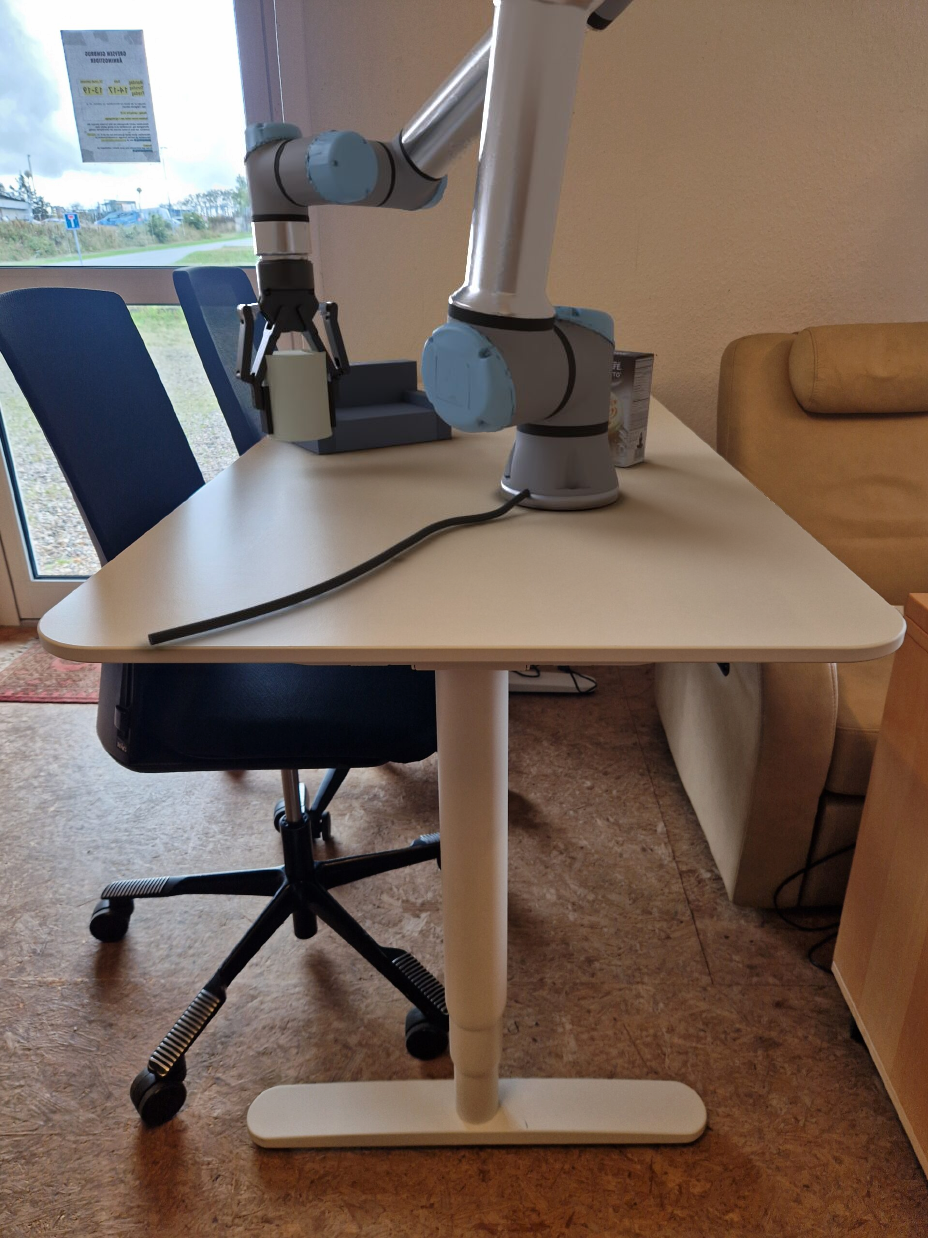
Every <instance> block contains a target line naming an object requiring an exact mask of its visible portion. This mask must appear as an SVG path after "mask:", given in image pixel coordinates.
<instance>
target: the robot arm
mask: <svg viewBox="0 0 928 1238" xmlns="http://www.w3.org/2000/svg"><path fill="white" fill-rule="evenodd" d="M492 1H493V4H494V15H493V23H492V24H491V26H490V27H489V28H488V29H487V30H486V32H485V33H484V34H483V35H482V36H481V37H480V38H479V39H478V41H477V42H476V43H475V44H474V45H473V47H471V49H470V50H469V51H467V54H466V55H465V56H464V57H463V58H462V60H460V62H459V63H458V64H457V65H456V66H455V67H454V69H453V70H451V72H450V73H449V74H448V75H447V77H445V79H444V80H443V81H442V82H441V83H440V85H439V86H438V87H437V88H436V89H435V90H434V92H433V93H432V94H431V95H430V96H429V97H428V98H427V100H426V101H425V102H424V103H423V104H422V106H420V108H419V109H418V110H417V111H416V113H414V115H412V117H411V118H410V119H409V120H408V122H407V123H406V124H405V125H404V126H403V127H402V129H401V130H400V131H399V132H397V134H396V135H395V136H394V137H393V138H392V139H391V140H390V141H388V142H387V141H379V140H374V139H373V140H371V139H366V138H365V137H364V136H363V135H362V134H361V133H359V132H357V131H354V130H351V129H349V130H348V129H346V130H336V129H331V130H327V131H325V132H322V133H319V134H315V135H314V134H313V135H309V136H303V132H302V130H301V128H300V127H299V126H298V125H296V124H293V123H289V122H277V121H267V122H256V123H252V124H250V125H248V126H246V128H245V129H244V131H243V147H244V157H243V163H244V167H245V176H246V183H247V193H248V201H249V211H250V217H251V227H252V229H251V230H252V236H253V246H254V247H253V248H254V255H256V256H257V257H259V260H258V261H256V263H255V270H256V278H257V279H256V280H257V289H258V299H257V302H256V303H251V304H238V305H237V307H236V311H237V316H238V320H239V332H238V342H237V352H236V361H235V362H236V364H235V372H234V373H235V375H234V377H235V380H236V381H239V382H242V383H246V384H248V385H249V387H250V393H251V394H250V395H251V396H250V397H251V404H252V407H253V409H254V410H257V411H259V417H260V427H261V432H262V433H264V434H267V435H268V434H274V433H273V424H272V414H271V404H270V395H269V386H266V385H263V381H264V378H265V375H266V372H267V361H266V357H265V356H266V355H273V352H274V351H275V348H276V346H277V343H278V341H279V339H280V338H281V336H282V334H287V333H291V332H293V333H295V332H296V333H300V335H302V336H303V337H304V339H305V341H306V342H307V345H308V346H309V348H310V350H312V351H316V352H324V351H325V352H326V373H327V388H328V401H329V414H330V424H331V427H336V413H335V402H339V400H340V392H339V380H340V379H341V378H342V376H344V375H346V374H349V373H350V371H351V368H350V365H349V363H350V361H349V357H348V354H347V353H348V352H347V350H346V346H345V343H344V339H343V335H342V332H341V328H340V324H339V320H338V319H339V318H338V317H339V305H338V303H337V302H335V301H319V299H318V298H317V296H316V293H315V291H316V290H315V289H316V287H315V286H316V285H315V272H314V263H313V262H312V260H309V257H310V256H312V254H313V247H312V236H311V235H312V234H311V225H310V223H311V221H310V214H309V207H315V206H330V205H334V206H348V207H366V208H383V209H392V210H393V209H395V210H403V211H408V212H413V211H418V210H430V209H433V208H435V207H436V206H437V205H439V204H440V202H441V201H442V200H443V198H444V193H445V190H446V189H447V186H448V178H449V177H448V173H449V172H450V171H451V170H452V169H453V168H454V167H455V166H456V165H457V164H458V163H459V162H460V161H461V160H462V159H463V158H464V157H465V156H466V155H467V154H468V153H469V152H470V151H471V150H472V149H473V148H474V147H475V146H476V145H477V144H478V143H479V142H480V144H479V151H478V152H479V153H478V159H477V160H478V161H477V171H476V179H475V189H474V197H473V207H472V217H471V225H470V235H469V244H468V252H467V253H468V254H467V263H466V270H465V271H466V272H465V280H464V283H463V284H462V285H461V286H460V287H458V288H457V290H455V291H454V292H452V294H451V295H450V296H449V298H448V306H447V316H446V323H444V324H443V325H440V326H439V327H437V328H436V329H435V330H433V332H432V333H431V336H430V337H428V338H427V339H426V341H425V343H424V345H423V349H422V353H421V359H420V374H421V375H420V376H421V381H422V386H423V389H424V391H425V392H426V395H427V397H428V399H429V401H430V402H431V403H433V405H434V408H435V411H436V412H437V414H438V415H439V416H440V417H441V418H442V419H443V420H444V421H445V422H446V423H447V424H449V425H450V426H452V428H453V429H455V430H457V431H460V432H461V433H462V432H463V433H466V434H478V433H498V432H501V431H503V430H504V429H508V428H512V427H516V428H515V429H516V430H515V438H514V441H513V444H512V447H511V449H510V453H509V456H508V458H507V461H506V464H505V468H504V469H503V470H504V471H503V474H502V477H501V480H500V495H501V497H502V498H503V499H504V500H506V502H505V503H504V504H503V505H502V506H500V507H498V508H496V509H494V510H491V511H486V512H483V513H476V514H469V515H468V514H467V515H460V516H454V517H450V518H445V519H442V520H439V521H436V522H434V523H431V524H429V525H427V526H425V527H422V528H421V529H420V530H418V531H416V532H415V533H413V534H412V535H410V536H408V537H406V538H405V539H402V540H400V541H399V542H397V543H395V544H394V545H392V546H391V547H389V548H387V549H386V550H384V551H382V552H381V553H379V554H377V555H375V556H374V557H372V558H370V559H368V560H366V561H365V562H362V563H360V564H358V565H356V566H354V567H352V568H350V569H349V570H347V571H344V572H342V573H340V574H338V575H336V576H334V577H331V578H329V579H327V580H324V581H322V582H320V583H317V584H315V585H312V586H310V587H307V588H304V589H301V590H299V591H297V592H294V593H291V594H288V595H285V596H282V597H279V598H276V599H273V600H269V601H266V602H264V603H260V604H257V605H254V606H250V607H247V608H243V609H240V610H236V611H233V612H229V613H225V614H223V615H218V616H215V617H212V618H207V619H204V620H200V621H195V622H191V623H187V624H183V625H181V626H176V627H171V628H168V629H164V630H159V631H155V632H151V633H148V634H147V639H148V642H149V645H150V646H155V645H159V644H162V643H166V642H171V641H174V640H178V639H182V638H186V637H190V636H194V635H197V634H201V633H207V632H210V631H212V630H217V629H221V628H223V627H227V626H231V625H234V624H237V623H241V622H244V621H247V620H251V619H255V618H258V617H261V616H264V615H267V614H270V613H273V612H276V611H280V610H282V609H285V608H288V607H291V606H294V605H297V604H301V603H302V602H304V601H308V600H310V599H312V598H315V597H318V596H320V595H322V594H324V593H328V592H329V591H331V590H334V589H336V588H339V587H340V586H343V585H344V584H347V583H348V582H349V583H350V582H351V581H353V580H355V579H356V578H358V577H361V576H363V575H365V574H367V573H368V572H370V571H372V570H373V569H376V568H377V567H379V566H380V565H382V564H384V563H386V562H387V561H389V560H390V559H392V558H394V557H395V556H397V555H399V554H400V553H402V552H403V551H406V550H407V549H409V548H410V547H413V546H414V545H416V544H417V543H419V542H420V541H422V540H423V539H425V538H427V537H428V536H430V535H432V534H433V533H436V532H438V531H440V530H443V529H446V528H450V527H453V526H460V525H467V524H475V523H481V522H486V521H491V520H493V519H497V518H499V517H502V516H504V515H505V514H507V513H508V512H509V511H511V510H512V509H513V508H514V507H515V506H517V505H518V506H523V507H527V508H532V509H541V510H553V511H575V510H576V511H577V510H579V511H580V510H589V509H595V508H596V509H597V508H600V507H605V506H607V505H610V504H613V503H614V502H615V501H616V500H617V499H618V498H619V486H620V482H619V478H618V474H617V470H616V466H615V465H614V461H613V457H612V453H611V449H610V445H609V441H608V423H609V409H610V396H611V382H612V369H613V355H614V350H616V341H615V321H614V319H613V317H612V316H611V315H610V314H609V313H608V312H605V311H602V310H598V309H592V308H585V307H574V306H567V305H553V303H552V302H551V301H550V299H549V298H548V296H547V293H546V289H547V282H548V276H549V270H550V264H551V257H552V250H553V243H554V237H555V231H556V225H557V218H558V212H559V205H560V198H561V191H562V186H563V180H564V172H565V166H566V159H567V153H568V147H569V140H570V135H571V134H570V133H571V127H572V121H573V113H574V106H575V102H576V97H577V88H578V82H579V75H580V69H581V62H582V56H583V49H584V43H585V37H586V34H587V33H588V32H593V33H600V32H603V31H605V30H606V29H607V28H608V27H609V26H610V24H612V23H613V22H614V21H615V20H616V19H617V18H618V17H619V16H620V15H621V14H622V13H623V12H624V11H625V10H626V9H627V8H628V7H629V6H630V5H631V3H632V2H633V1H634V0H492ZM317 312H319V316H320V318H322V321H323V326H324V330H325V334H326V337H327V341H328V344H329V348H330V352H331V355H330V353H329V351H328V349H327V347H326V346H325V343H324V342H323V340H322V338H321V336H320V334H319V330H318V328H317V326H316V324H315V323H314V321H313V320H314V318H315V316H316V314H317ZM259 313H260V315H261V316H262V317H263V318H264V320H265V321H266V323H265V326H264V329H263V332H262V339H261V341H260V344H259V347H258V351H257V352H256V356H255V359H254V362H253V365H252V356H253V348H254V347H253V346H254V337H255V322H256V321H257V320H258V315H259ZM331 356H332V357H331ZM332 358H333V359H332ZM334 364H335V365H334Z"/></svg>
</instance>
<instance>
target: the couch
mask: <svg viewBox="0 0 928 1238" xmlns="http://www.w3.org/2000/svg"><path fill="white" fill-rule="evenodd" d="M334 365H335V363H334ZM349 365H350V368H351V371H350V373H349V374H346V375H344V376H342V378H341V379H340V380H339V392H340V400H339V402H335V413H336V427H331V431H332V435H331V436H330V437H327V438H324V439H319V440H312V441H298V442H291V443H292V444H295V445H297V446H299V447H302V448H303V449H306V450H307V451H310V452H313V453H314V454H317V455H325V454H327V455H328V454H335V453H342V452H351V451H357V450H367V449H368V450H369V449H376V448H383V447H391V446H400V445H408V444H416V443H426V442H433V441H440V440H449V439H452V433H453V432H452V428H453V427H452V426H450V425H449V424H447V423H446V422H445V421H444V420H443V419H442V418H441V417H440V416H439V415H438V414H437V412H436V411H435V408H434V405H433V403H431V402H430V401H429V399H428V397H427V395H426V392H425V390H421V389H419V388H418V361H417V360H413V359H407V358H406V359H405V358H404V359H403V358H402V359H389V360H388V359H387V360H374V361H373V360H372V361H358V362H349Z"/></svg>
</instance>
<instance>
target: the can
mask: <svg viewBox="0 0 928 1238" xmlns="http://www.w3.org/2000/svg"><path fill="white" fill-rule="evenodd" d="M265 357H266V361H267V372H266V375H265V378H264V381H263V385H266V386H269V395H270V404H271V414H272V424H273V433H274V434H267V438H268V439H269V440H272V441H276V442H288V443H292V442H298V441H312V440H319V439H324V438H327V437H330V436H331V435H332V431H331V424H330V414H329V401H328V388H327V373H326V352H325V351H324V352H316V351H312V350H311V349H308V348H301V349H286V350H274V352H273V355H266V356H265Z"/></svg>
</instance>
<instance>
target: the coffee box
mask: <svg viewBox="0 0 928 1238" xmlns="http://www.w3.org/2000/svg"><path fill="white" fill-rule="evenodd" d="M654 363H655V353H652V352H642V351H641V352H640V351H630V350H619V349H615V350H614V355H613V369H612V382H611V396H610V409H609V423H608V441H609V445H610V449H611V453H612V457H613V461H614V465H615V467H621V468H627V467H631V466H634V465H636V464H638V463H641V462H643V461H645V453H646V442H647V434H648V423H649V413H650V403H651V392H652V384H653V383H652V382H653V372H654Z"/></svg>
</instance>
